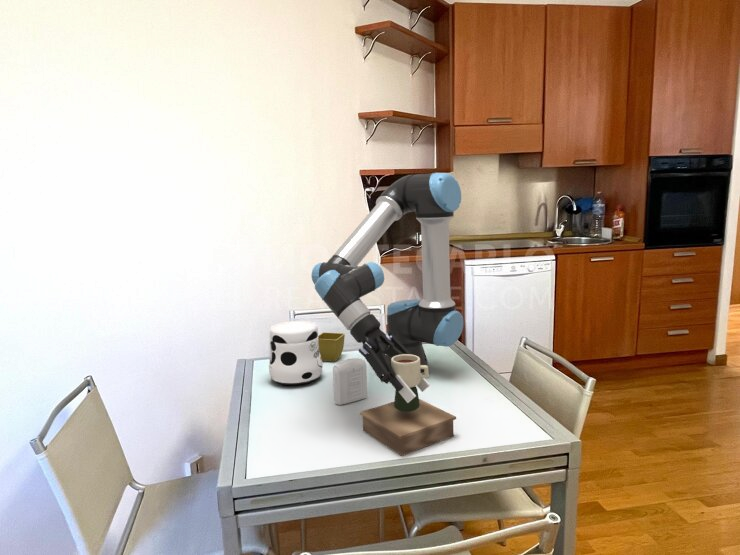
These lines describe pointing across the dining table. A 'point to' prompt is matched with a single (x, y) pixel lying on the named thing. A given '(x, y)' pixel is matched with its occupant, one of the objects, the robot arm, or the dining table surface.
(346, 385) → the photo printer
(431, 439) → the walnut stand
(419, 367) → the character mug
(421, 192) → the robot arm
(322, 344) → the flower pot
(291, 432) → the dining table surface
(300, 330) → the milk container
